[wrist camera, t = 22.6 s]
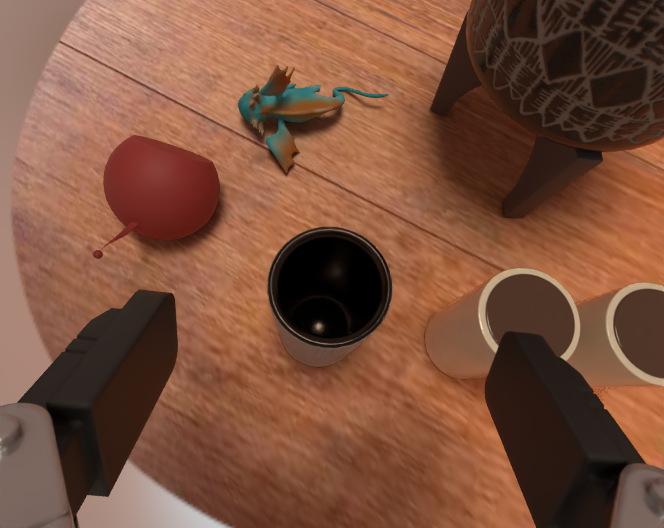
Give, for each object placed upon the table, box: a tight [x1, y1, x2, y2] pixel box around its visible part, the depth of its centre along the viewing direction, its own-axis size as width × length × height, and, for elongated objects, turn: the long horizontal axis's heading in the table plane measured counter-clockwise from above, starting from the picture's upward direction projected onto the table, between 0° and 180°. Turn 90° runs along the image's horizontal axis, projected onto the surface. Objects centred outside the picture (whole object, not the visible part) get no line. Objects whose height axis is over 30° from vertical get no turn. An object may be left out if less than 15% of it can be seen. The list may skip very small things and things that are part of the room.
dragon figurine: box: [238, 65, 388, 173], centre depth 28 cm, size 6×7×8 cm
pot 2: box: [566, 282, 664, 388], centre depth 22 cm, size 4×4×8 cm
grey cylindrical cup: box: [267, 227, 392, 367], centre depth 20 cm, size 4×4×10 cm
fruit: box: [93, 135, 220, 259], centre depth 24 cm, size 6×6×8 cm
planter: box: [430, 0, 664, 218], centre depth 21 cm, size 13×13×18 cm
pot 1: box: [425, 268, 580, 379], centre depth 22 cm, size 4×4×8 cm
